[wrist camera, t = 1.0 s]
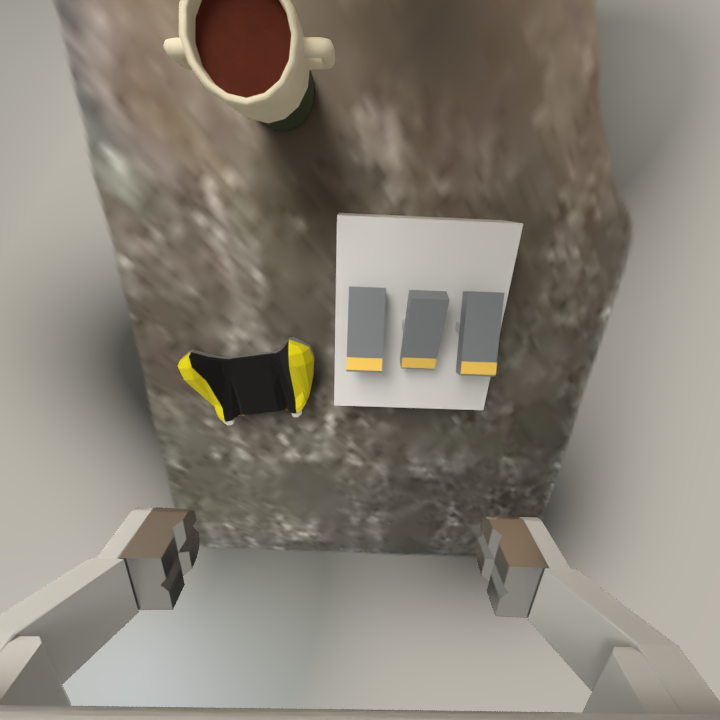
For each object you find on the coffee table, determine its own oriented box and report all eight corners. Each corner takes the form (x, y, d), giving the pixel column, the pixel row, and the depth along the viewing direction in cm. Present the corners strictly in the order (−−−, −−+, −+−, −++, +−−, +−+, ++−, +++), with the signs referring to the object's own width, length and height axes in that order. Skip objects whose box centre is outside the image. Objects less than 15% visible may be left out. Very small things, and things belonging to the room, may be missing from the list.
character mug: (340, 41, 31) (329, -52, 20) (342, 136, 34) (334, 106, 23) (214, 41, 31) (128, -51, 20) (227, 137, 34) (159, 106, 23)
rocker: (409, 289, 33) (411, 298, 32) (446, 291, 33) (449, 300, 32) (399, 358, 38) (400, 369, 37) (431, 359, 38) (434, 370, 37)
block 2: (462, 291, 35) (468, 291, 33) (497, 292, 35) (504, 292, 33) (455, 372, 36) (460, 375, 35) (489, 373, 37) (495, 377, 35)
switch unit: (339, 212, 37) (336, 215, 31) (503, 220, 38) (529, 224, 32) (336, 386, 46) (333, 413, 40) (470, 390, 46) (486, 418, 40)
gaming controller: (188, 340, 43) (213, 411, 47) (166, 359, 38) (196, 436, 42) (312, 324, 42) (327, 397, 46) (306, 341, 37) (323, 421, 41)
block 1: (349, 286, 35) (349, 286, 33) (384, 288, 35) (386, 287, 33) (346, 368, 36) (346, 371, 35) (380, 369, 36) (381, 373, 35)
